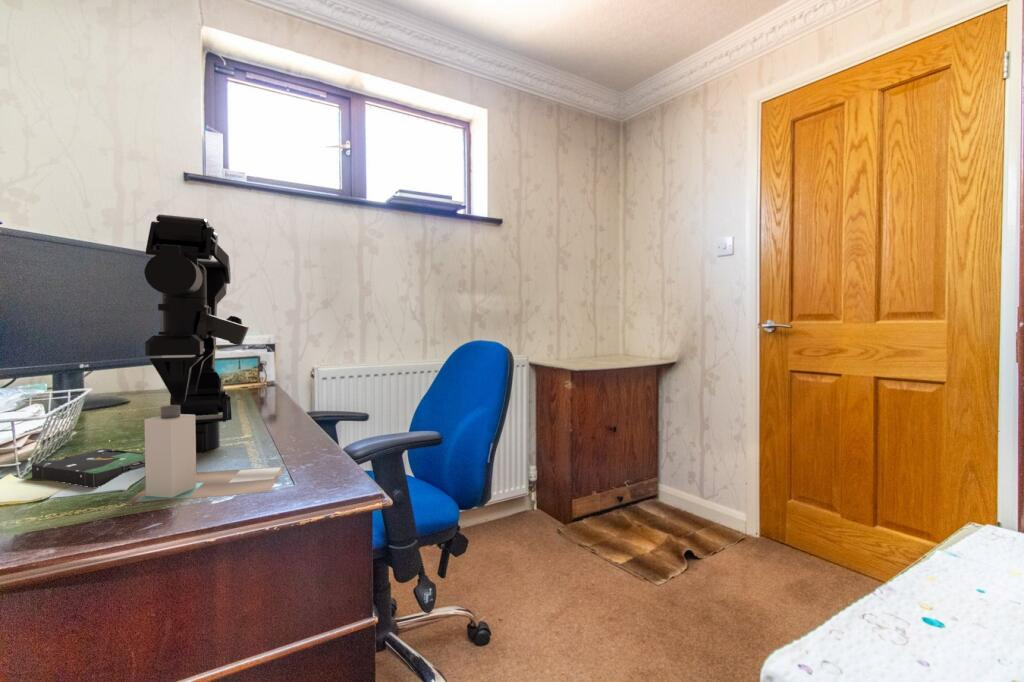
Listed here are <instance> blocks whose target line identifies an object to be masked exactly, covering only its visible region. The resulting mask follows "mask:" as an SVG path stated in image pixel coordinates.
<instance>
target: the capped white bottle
mask: <svg viewBox="0 0 1024 682" xmlns="http://www.w3.org/2000/svg"><path fill="white" fill-rule="evenodd" d="M159 410H160V415H158V416H153V417H150V418H149V417H148V418H145V419H144V453H145V466H144V467H145V472H144V473H145V489H146V496H155V497H170V498H172V497H175V496H177V495H179V494H182V493H184V492H186V491H189V490H191V489H193V488H196V473H197V453H196V425H195V415H191V414H180V405H170V404H168V405H167V404H165V405H162V406H160V409H159Z"/></svg>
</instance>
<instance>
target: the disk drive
mask: <svg viewBox="0 0 1024 682" xmlns="http://www.w3.org/2000/svg"><path fill="white" fill-rule="evenodd" d="M144 467H145V452H135V451H127V450H119V449H112V448H100V449H96V450H92V451H88V452H83V453H77V454H74V455H73V454H72V455H69V456H65V457H63V458H62V459H60V460H59V459H58V460H46V461H41V462H36V463H33V464H32V463H31V478H32V479H33V478H34V479H37V480H44V481H50V482H56V481H58V482H57V483H62V482H65V483H64V484H68V483H71V484H70V485H73V484H77V485H76V486H79V485H82V486H81V487H84V486H88V487H87V488H91V487H97V488H99V487H98V486H100V487H103V486H104V485H106V484H108V483H109V482H111V481H112V480H114V479H116V478H118V477H119V476H120V475H123V474H124V473H126V472H129V471H132V470H136V469H140V468H144ZM102 485H103V486H102Z"/></svg>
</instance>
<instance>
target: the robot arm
mask: <svg viewBox="0 0 1024 682" xmlns="http://www.w3.org/2000/svg"><path fill="white" fill-rule="evenodd" d="M155 218H156V221H151V222H150V227H149V231H148V238H147V241H146V248H145V255H146V256H148V257H150V259H149V260H148V262H146V264H145V267H144V278H145V280H146V282H147V283H148V284H149V286H150V287H151V288H152V289H154V290H155V291H157V292H160V293H161V297H160V298H161V303H158V304H157V310H158V311H159V312H160V311H161V330H159V331H158V334H154V335H152V336H151V337H149V338H148V339H147V340H146V341H145V342H144V350H145V351H144V352H145V356H147V357H148V360H149V362H150V363H151V364H152V365H153V367H154V369H155V371H156V372H157V374H158V375H159V377H160V378H161V381H162V382H163V384H164V385H165V387H166V389H167V391H168V392H169V394H170V399H169V403H170V404H169V405H180V414H191V415H195V425H196V454H203V453H208V452H209V451H211V450H216V449H219V448H220V447H221V440H220V439H221V434H220V433H221V431H220V430H221V427H220V426H221V424H220V422H223V423H224V422H225V423H226V422H227V421H231V420H233V418H232V417H233V411H232V410H233V408H232V397H231V396H230V395H229V393H228V390H227V389H224V384H223V380H222V378H221V377H220V375H219V374H218V372H217V370H216V369H215V367H216V364H215V363H216V362H215V361H216V349H217V339H220V340H224V341H227V342H229V343H230V344H233V345H236V346H241V345H243V343H244V341H245V338H246V336H247V334H248V330H249V326H247V325H244V324H243V322H242V321H243V320H242V318H241V317H238V316H235V315H230V316H228V317H227V318H226V319H225V318H222V317H218V315H217V313H218V312H217V311H218V304H219V303H220V302H221V300H223V298H224V297H225V296H226V295H227V292H228V291H227V289H228V287H227V286H228V285H230V284H231V281H232V279H231V263H230V257H229V254H228V253H227V252H226V251H224V249H223V248H222V247H221V246H220V245H219V244H218V240H219V236H218V234H217V233H216V232H215V228H214V227H213V226H211V225H210V224H209V221H208V220H207V219H206V218H201V217H190V216H189V217H188V216H180V215H170V214H169V215H168V214H158V215H156V217H155ZM212 258H214V260H213V259H212ZM220 413H221V414H220Z"/></svg>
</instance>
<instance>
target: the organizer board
mask: <svg viewBox="0 0 1024 682" xmlns="http://www.w3.org/2000/svg"><path fill="white" fill-rule="evenodd" d="M285 467H286V465H282V466H269V467H255V468H253V467H252V468H240V469H239V468H238V469H227V470H213V471H212V470H211V471H199V472H198V471H196V488H193V489H191V490H189V491H186V492H184V493H182V494H179V495H177V496H175V497H172V498H170V497H155V496H146V488H144V489H143V490H142V491H140V492H139V493H137V494H136V495H135V496H133V497H132V498H130V499H129V500H128V501H126V502H124V505H132V504H143V503H144V504H145V503H157V502H166V501H170V502H171V501H177V500H179V501H181V500H190V499H191V500H193V499H201V498H211V497H212V498H215V497H225V496H237V495H249V494H260V493H261V494H263V493H270V491H271V490H272V488H273V487H274V486H275V483H276V482H277V480H278V478H279V477H280V476H281V474H282V472H283V471H284V469H285Z"/></svg>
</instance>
